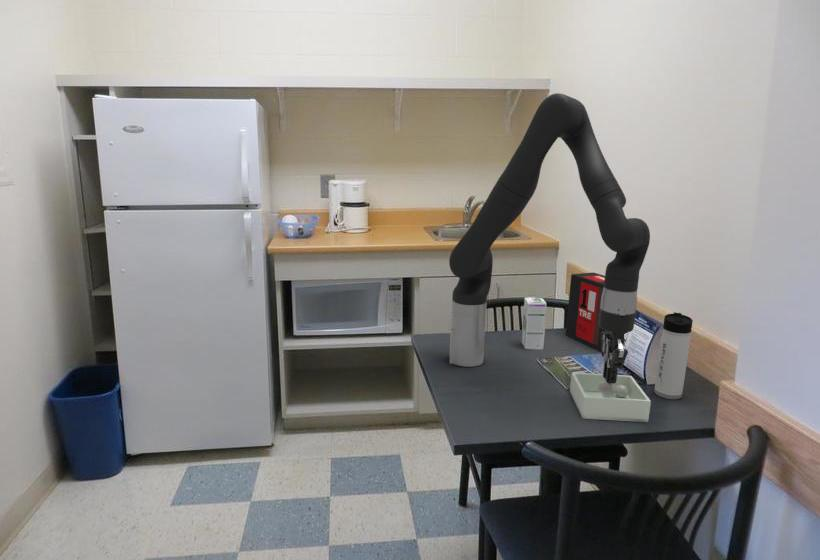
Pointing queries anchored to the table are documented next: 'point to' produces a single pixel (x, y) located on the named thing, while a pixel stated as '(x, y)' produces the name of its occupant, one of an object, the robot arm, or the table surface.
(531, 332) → the syrup box
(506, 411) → the table surface
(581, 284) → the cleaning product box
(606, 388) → the screw
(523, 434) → the table surface
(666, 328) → the travel mug
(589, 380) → the tub
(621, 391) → the pebble
